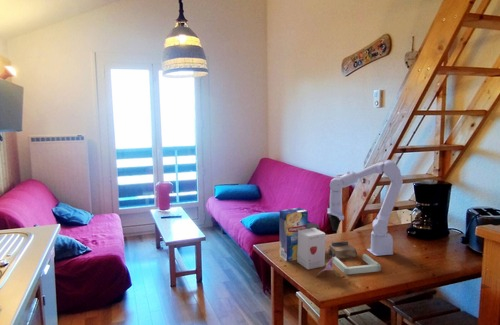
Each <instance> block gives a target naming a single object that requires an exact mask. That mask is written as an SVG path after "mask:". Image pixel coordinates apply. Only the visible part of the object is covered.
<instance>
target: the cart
mask: <svg viewBox="0 0 500 325" xmlns="http://www.w3.org/2000/svg"><path fill="white" fill-rule="evenodd" d="M328 246H329V249H328V251H327V252H328V254H329V255H330V256H331V258H333V257H335V256H336V257H337V258H338V259H339V260H340V259H349V258H350V259H351V258H356V257H357V255H358V252H357V249H356V248H355V247H353V246H352V245H351V243H349V241H348V240H347V241H346V240H343V241H334V242H331V244H330V245H328Z"/></svg>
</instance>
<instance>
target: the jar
mask: <svg viewBox="0 0 500 325" xmlns="http://www.w3.org/2000/svg"><path fill="white" fill-rule="evenodd" d="M310 228H316V229H318V230H320V225H319V224H318V223H314V222H308V229H310Z"/></svg>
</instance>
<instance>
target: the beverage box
mask: <svg viewBox="0 0 500 325" xmlns="http://www.w3.org/2000/svg"><path fill="white" fill-rule="evenodd" d="M308 218H309V211H308V210H307V209H304V208H301V207H294V208H286V209H281V210H280V209H279V243H278V244H279V245H278V246H279V258H282V260H284V261H285V262H287V263H288V262H291V261H297V250H298V230H303V229H308V223H309V219H308Z"/></svg>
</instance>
